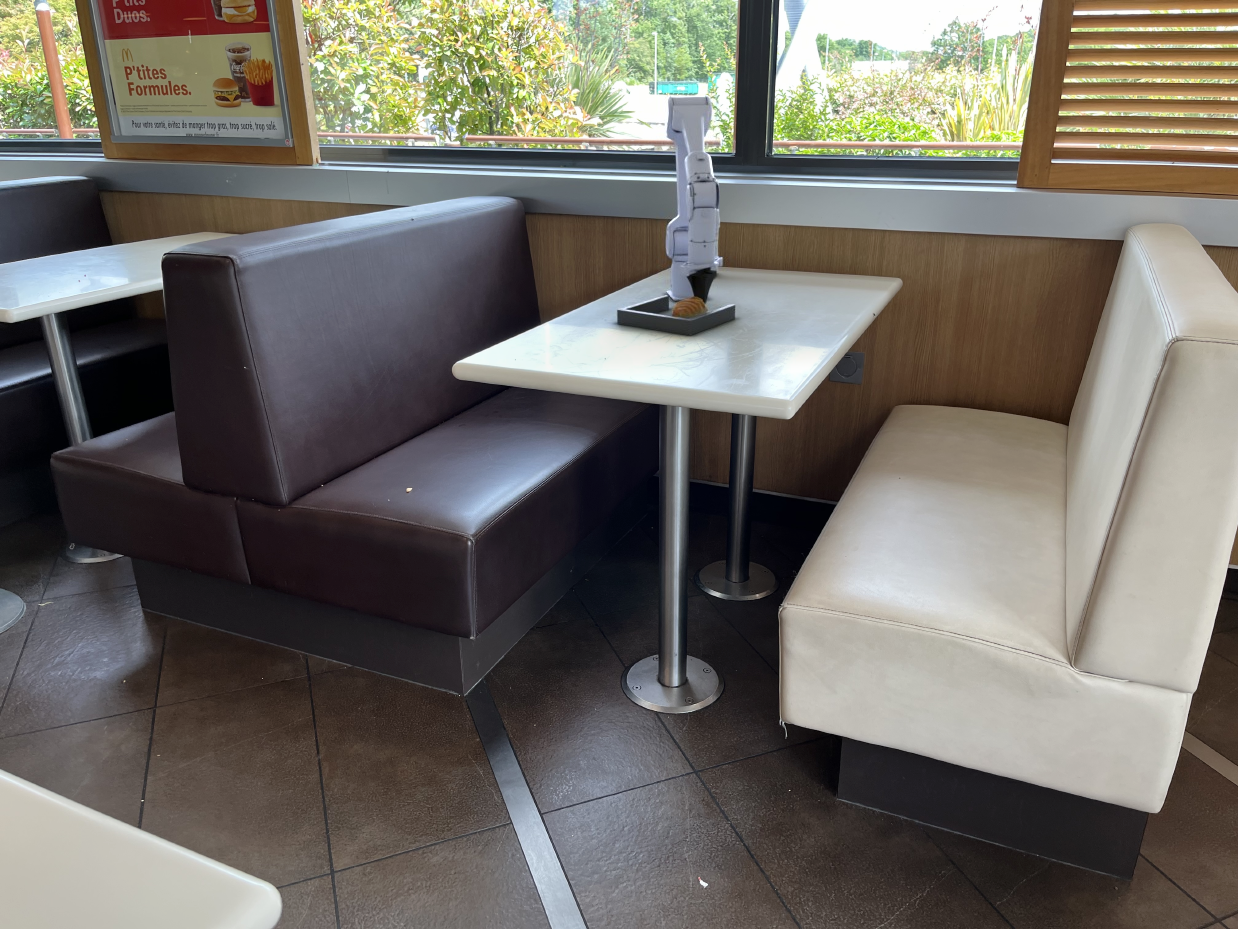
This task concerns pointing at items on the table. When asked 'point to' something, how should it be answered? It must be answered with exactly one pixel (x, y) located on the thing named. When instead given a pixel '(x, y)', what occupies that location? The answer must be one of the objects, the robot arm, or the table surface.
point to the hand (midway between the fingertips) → (700, 304)
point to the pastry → (689, 308)
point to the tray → (647, 318)
